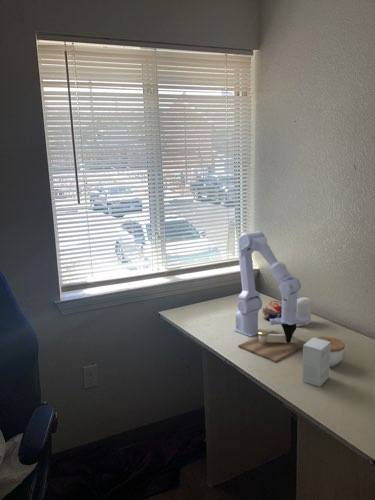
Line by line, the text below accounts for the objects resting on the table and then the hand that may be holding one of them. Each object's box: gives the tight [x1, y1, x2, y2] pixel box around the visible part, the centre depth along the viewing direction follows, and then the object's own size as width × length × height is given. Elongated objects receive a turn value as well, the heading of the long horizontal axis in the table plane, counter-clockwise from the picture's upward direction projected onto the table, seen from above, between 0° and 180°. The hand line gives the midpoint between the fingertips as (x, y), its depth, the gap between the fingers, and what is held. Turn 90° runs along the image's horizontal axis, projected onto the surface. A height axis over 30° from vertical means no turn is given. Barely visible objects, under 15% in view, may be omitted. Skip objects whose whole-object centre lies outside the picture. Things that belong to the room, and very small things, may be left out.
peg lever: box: [257, 329, 294, 344], centre depth 164 cm, size 14×4×4 cm, turn 85°
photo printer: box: [296, 296, 313, 327], centre depth 184 cm, size 10×4×12 cm, turn 123°
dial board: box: [237, 330, 308, 363], centre depth 163 cm, size 18×22×1 cm
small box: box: [301, 337, 331, 388], centre depth 136 cm, size 8×6×13 cm
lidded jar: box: [317, 336, 346, 367], centre depth 148 cm, size 11×11×9 cm
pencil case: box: [262, 300, 282, 320], centre depth 198 cm, size 11×20×5 cm, turn 138°
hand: (288, 341), depth 161 cm, fingers closed, pressing on peg lever
